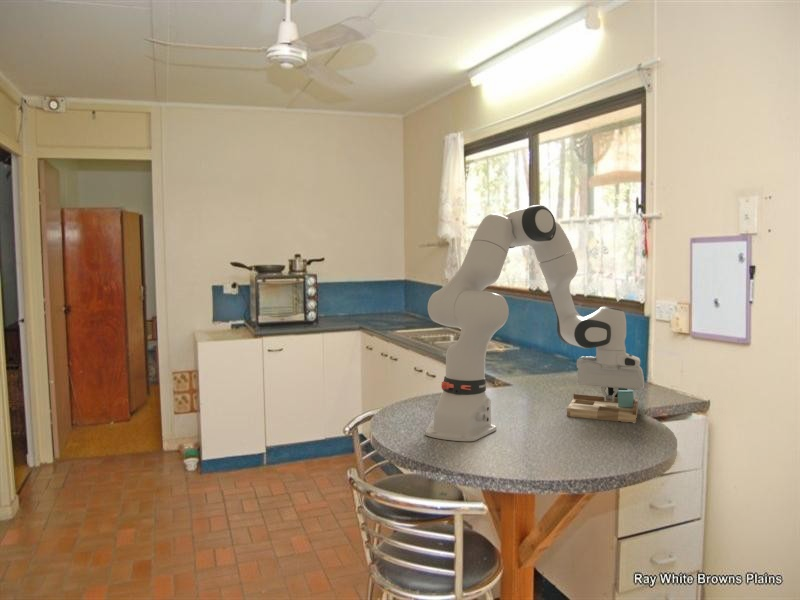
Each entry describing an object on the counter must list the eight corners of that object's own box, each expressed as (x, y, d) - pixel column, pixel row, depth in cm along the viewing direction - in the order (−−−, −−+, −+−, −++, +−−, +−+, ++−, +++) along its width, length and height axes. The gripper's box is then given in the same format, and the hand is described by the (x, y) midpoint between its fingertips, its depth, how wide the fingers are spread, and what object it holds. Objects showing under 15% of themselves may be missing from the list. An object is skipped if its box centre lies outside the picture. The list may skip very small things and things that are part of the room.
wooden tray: (635, 423, 186) (636, 408, 185) (566, 415, 193) (567, 401, 193) (637, 411, 200) (638, 398, 200) (573, 405, 208) (573, 392, 208)
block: (633, 407, 194) (632, 393, 194) (618, 407, 196) (617, 392, 195) (634, 404, 198) (633, 390, 198) (619, 403, 200) (618, 390, 200)
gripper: (575, 356, 199) (574, 399, 200) (644, 361, 191) (642, 406, 192) (578, 354, 205) (576, 396, 206) (645, 358, 197) (643, 402, 198)
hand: (609, 401), depth 199 cm, fingers closed
